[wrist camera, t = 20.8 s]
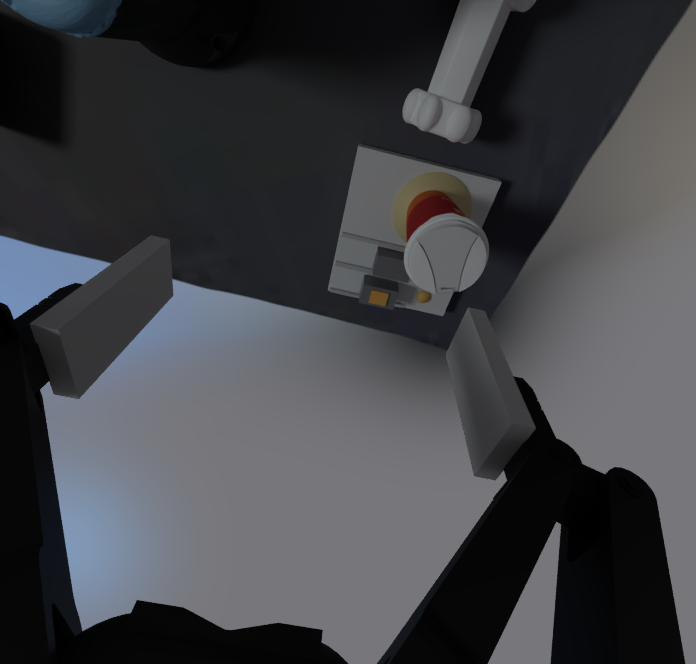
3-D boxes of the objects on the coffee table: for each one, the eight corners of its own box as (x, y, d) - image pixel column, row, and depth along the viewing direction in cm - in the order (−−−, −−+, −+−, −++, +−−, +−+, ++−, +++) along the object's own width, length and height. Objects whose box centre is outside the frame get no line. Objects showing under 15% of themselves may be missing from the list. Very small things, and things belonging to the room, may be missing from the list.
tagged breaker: (359, 292, 55) (358, 303, 53) (364, 274, 54) (363, 285, 51) (392, 299, 56) (392, 311, 53) (398, 282, 54) (399, 293, 51)
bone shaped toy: (457, -53, 36) (465, -85, 29) (540, -21, 36) (566, -46, 30) (400, 117, 45) (397, 122, 38) (468, 141, 45) (476, 151, 38)
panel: (329, 283, 57) (325, 300, 53) (358, 143, 46) (357, 150, 42) (441, 309, 59) (446, 327, 55) (497, 178, 47) (508, 188, 43)
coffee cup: (461, 240, 50) (489, 296, 38) (399, 247, 51) (406, 303, 39) (463, 174, 45) (496, 213, 33) (395, 183, 46) (402, 223, 34)
